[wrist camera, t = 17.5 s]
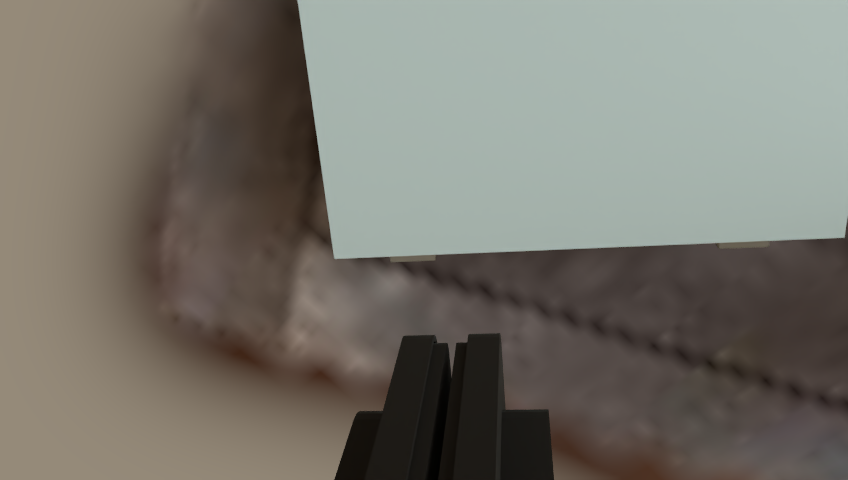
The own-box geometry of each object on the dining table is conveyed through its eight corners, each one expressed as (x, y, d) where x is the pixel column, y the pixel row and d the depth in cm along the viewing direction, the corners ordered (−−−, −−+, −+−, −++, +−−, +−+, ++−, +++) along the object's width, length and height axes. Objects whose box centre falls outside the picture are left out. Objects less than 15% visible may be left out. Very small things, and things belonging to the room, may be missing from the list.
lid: (876, -107, 24) (895, -110, 23) (830, 226, 28) (844, 237, 27) (298, -52, 26) (289, -53, 25) (340, 247, 30) (334, 258, 29)
